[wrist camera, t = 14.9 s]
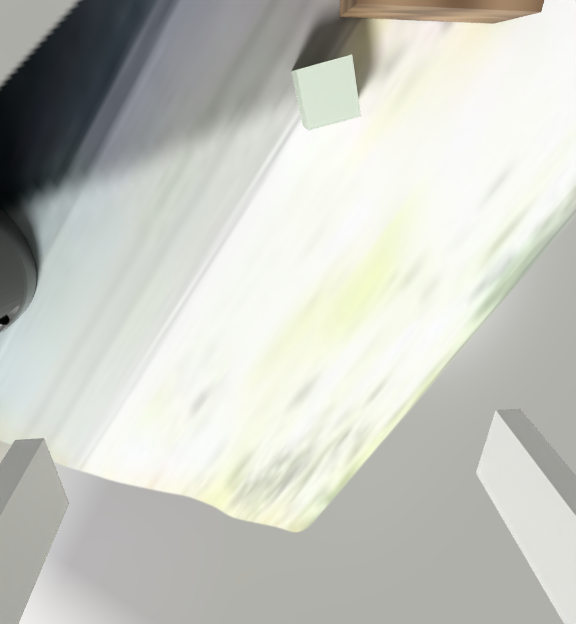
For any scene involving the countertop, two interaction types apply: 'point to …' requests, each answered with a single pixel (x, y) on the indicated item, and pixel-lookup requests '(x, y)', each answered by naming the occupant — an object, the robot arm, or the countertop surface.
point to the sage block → (327, 92)
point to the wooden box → (441, 9)
